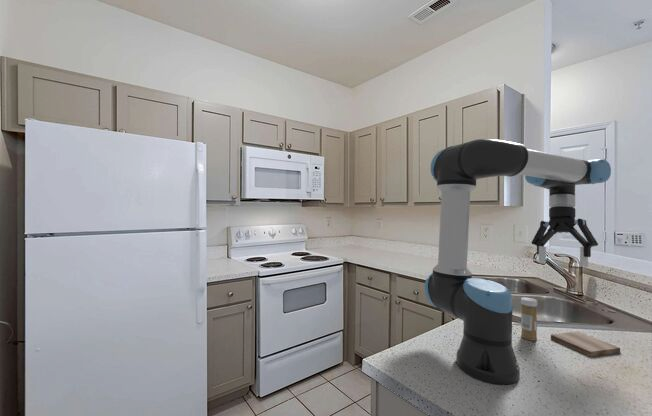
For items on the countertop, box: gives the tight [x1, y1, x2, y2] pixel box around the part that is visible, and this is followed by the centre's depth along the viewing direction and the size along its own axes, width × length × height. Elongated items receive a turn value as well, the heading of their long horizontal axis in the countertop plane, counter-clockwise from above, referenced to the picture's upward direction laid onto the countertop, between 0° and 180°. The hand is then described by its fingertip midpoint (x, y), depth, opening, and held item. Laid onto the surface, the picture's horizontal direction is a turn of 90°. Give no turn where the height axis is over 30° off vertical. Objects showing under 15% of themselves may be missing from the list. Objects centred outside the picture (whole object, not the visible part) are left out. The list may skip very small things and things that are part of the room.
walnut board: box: [550, 331, 621, 358], centre depth 92 cm, size 12×12×2 cm
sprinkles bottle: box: [520, 297, 538, 342], centre depth 97 cm, size 5×5×14 cm
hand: (561, 265), depth 102 cm, fingers open, 13 cm apart
